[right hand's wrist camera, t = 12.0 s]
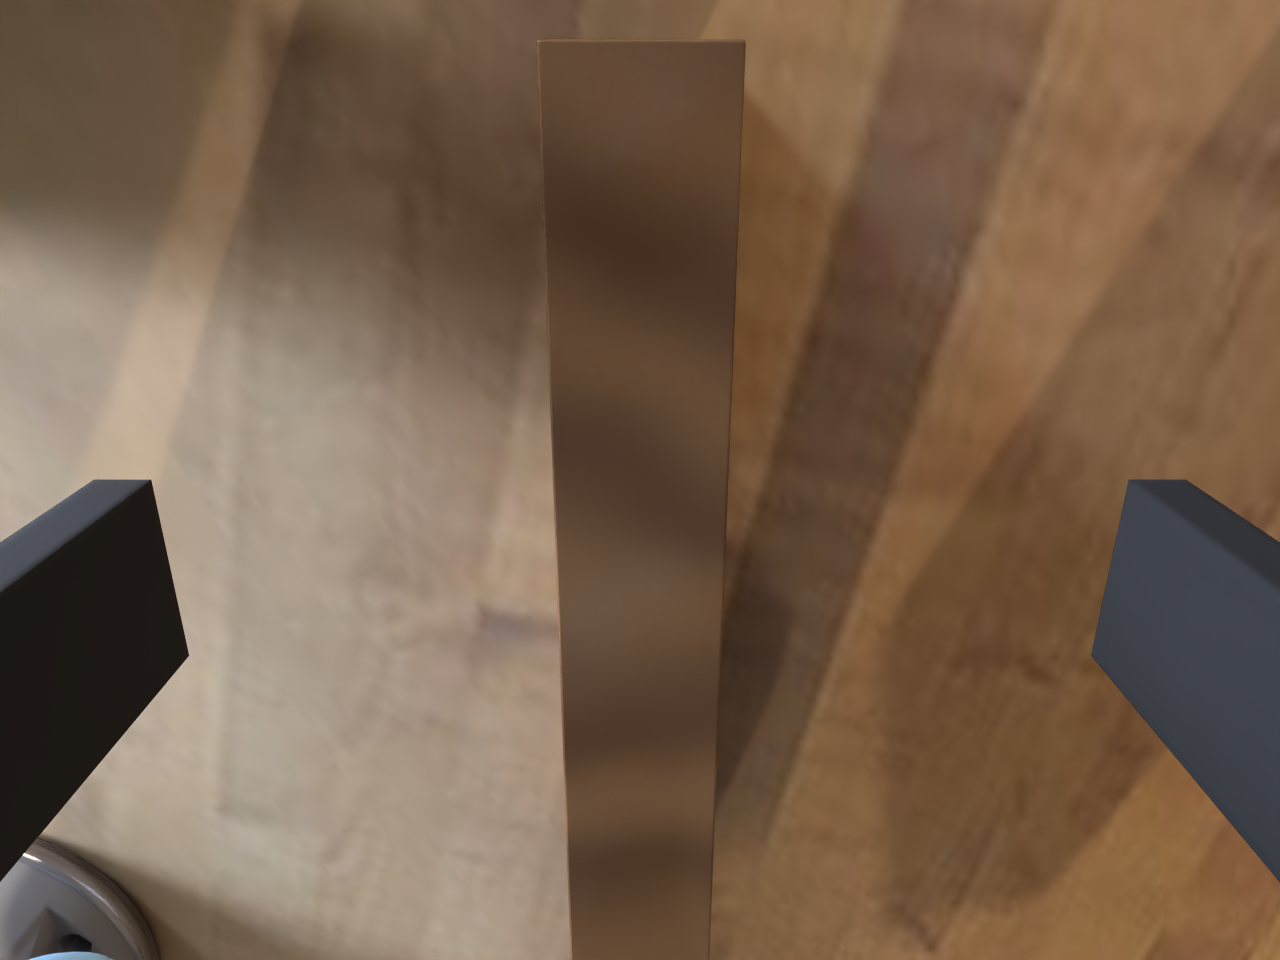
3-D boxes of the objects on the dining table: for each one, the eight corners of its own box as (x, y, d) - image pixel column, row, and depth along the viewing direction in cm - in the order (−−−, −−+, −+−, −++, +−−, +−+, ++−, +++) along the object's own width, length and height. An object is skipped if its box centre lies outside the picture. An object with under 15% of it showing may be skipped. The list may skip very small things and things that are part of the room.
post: (563, 58, 29) (536, 39, 22) (718, 58, 29) (746, 39, 22) (597, 1301, 54) (590, 1495, 47) (681, 1301, 54) (687, 1495, 47)
